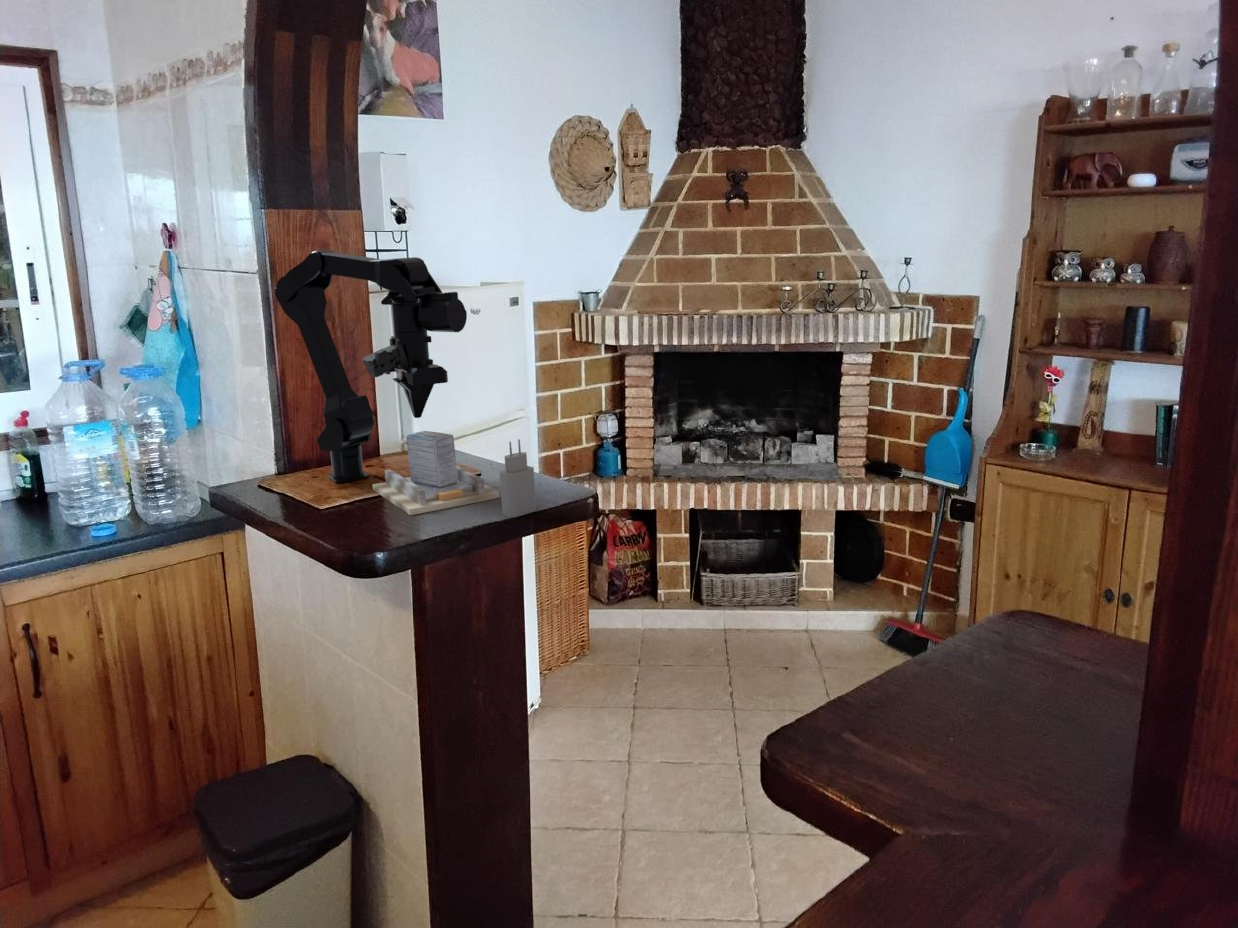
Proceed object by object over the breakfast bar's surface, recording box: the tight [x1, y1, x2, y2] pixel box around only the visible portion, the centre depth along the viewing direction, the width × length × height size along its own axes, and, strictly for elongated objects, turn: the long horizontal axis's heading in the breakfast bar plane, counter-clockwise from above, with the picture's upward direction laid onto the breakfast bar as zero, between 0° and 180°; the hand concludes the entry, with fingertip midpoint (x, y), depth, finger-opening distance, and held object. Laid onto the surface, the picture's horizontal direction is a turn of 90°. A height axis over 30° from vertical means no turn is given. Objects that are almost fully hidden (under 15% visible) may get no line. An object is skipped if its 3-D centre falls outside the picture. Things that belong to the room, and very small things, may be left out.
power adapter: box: [499, 439, 537, 518], centre depth 149 cm, size 3×5×12 cm, turn 136°
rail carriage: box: [404, 476, 473, 501], centre depth 163 cm, size 16×9×1 cm, turn 32°
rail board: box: [372, 465, 501, 516], centre depth 163 cm, size 20×16×4 cm
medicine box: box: [405, 430, 458, 487], centre depth 162 cm, size 8×4×9 cm, turn 52°
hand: (417, 417), depth 167 cm, fingers closed
